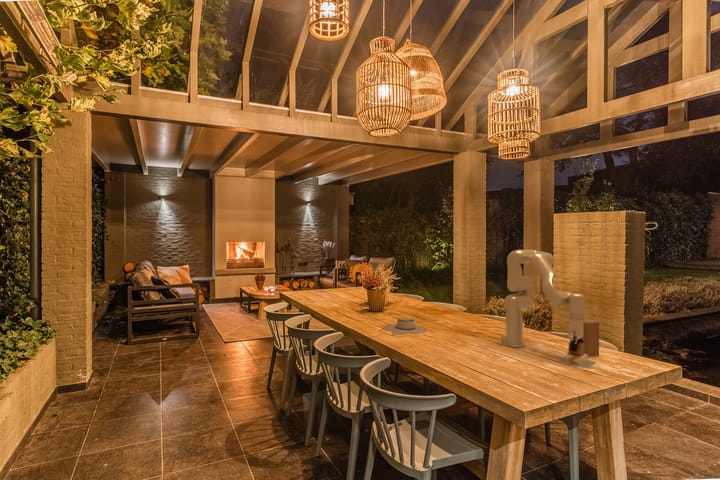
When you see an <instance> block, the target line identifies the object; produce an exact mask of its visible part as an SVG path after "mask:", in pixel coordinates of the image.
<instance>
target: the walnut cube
mask: <svg viewBox="0 0 720 480" xmlns="http://www.w3.org/2000/svg"><path fill="white" fill-rule="evenodd" d="M576 344H577V352H575V351H571V350H570V342H568V353H569V355H574V356H579V357H582V356H583V355H585V343H581V342H577V343H576Z"/></svg>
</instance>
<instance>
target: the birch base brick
mask: <svg viewBox="0 0 720 480" xmlns="http://www.w3.org/2000/svg"><path fill="white" fill-rule="evenodd" d="M565 357H566V362H569V363H573V364H578V365H584V364H585V363H587V362H588V360H589V359H588V358H589V357H588V354H585V355H583V356H582V357H579V356H574V355H569V352H568V353H566V354H565Z"/></svg>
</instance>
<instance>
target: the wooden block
mask: <svg viewBox="0 0 720 480" xmlns="http://www.w3.org/2000/svg"><path fill="white" fill-rule="evenodd" d="M583 324H584V336H583V343H585V354H588V358H591V357H599V356H600V322H599V321H598V320H594V319H590V318H586V317H585V321H583ZM573 338H574V337H573Z"/></svg>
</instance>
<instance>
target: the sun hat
mask: <svg viewBox="0 0 720 480" xmlns="http://www.w3.org/2000/svg"><path fill="white" fill-rule="evenodd" d="M415 323H416V322H415V321H414V318H410V317H400V318H397V322H396V323H393V324H387V325H385V326H386V327H385V326H383V327H384V328H383V327H381V328H382V330H385V331H391V332H392V333H393V334H396V335H405V334H420V333H425V332H427V331H428V330H429V329H428V330H426V329H423V328H421V327H422V326H420V327H418V326H417V325H416V324H415Z"/></svg>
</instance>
